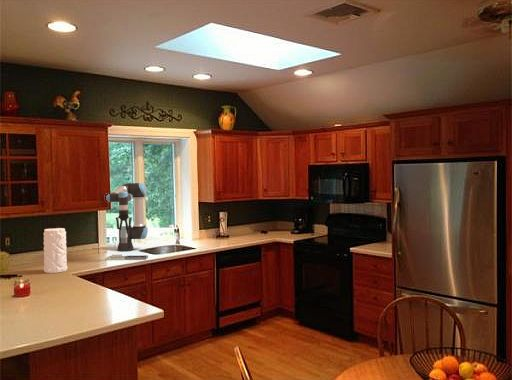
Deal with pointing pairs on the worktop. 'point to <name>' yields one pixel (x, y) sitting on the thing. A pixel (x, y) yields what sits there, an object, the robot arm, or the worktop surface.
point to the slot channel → (136, 257)
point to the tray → (114, 258)
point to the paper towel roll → (55, 250)
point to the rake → (123, 234)
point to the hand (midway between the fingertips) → (124, 237)
